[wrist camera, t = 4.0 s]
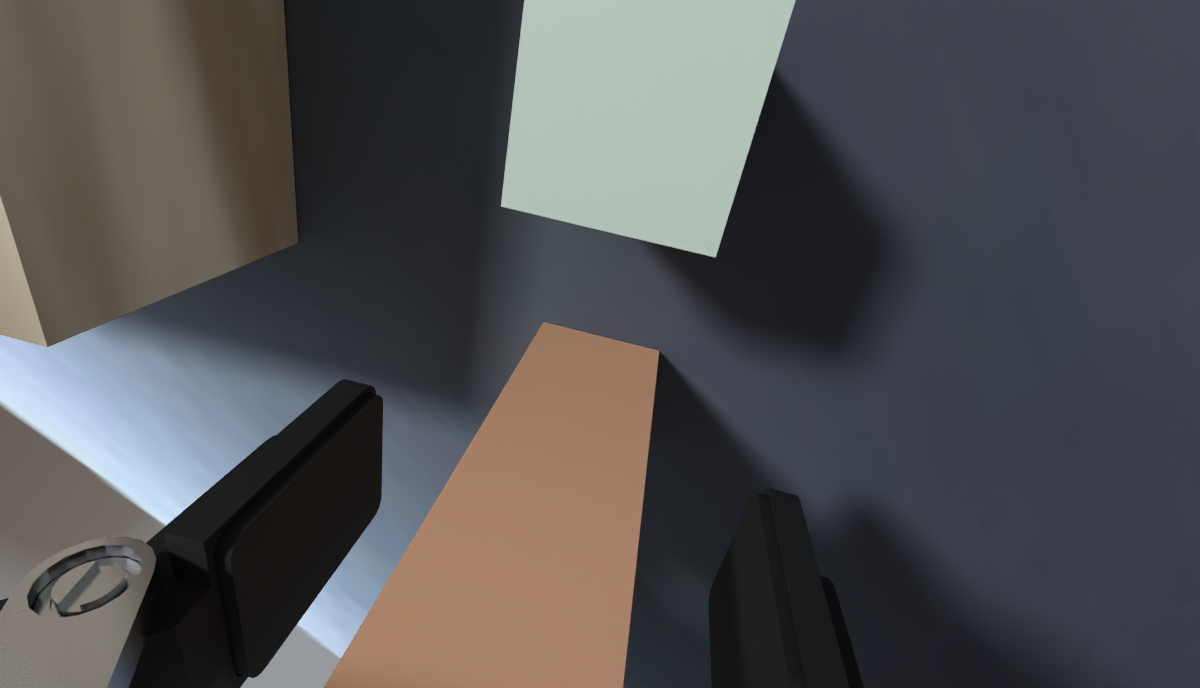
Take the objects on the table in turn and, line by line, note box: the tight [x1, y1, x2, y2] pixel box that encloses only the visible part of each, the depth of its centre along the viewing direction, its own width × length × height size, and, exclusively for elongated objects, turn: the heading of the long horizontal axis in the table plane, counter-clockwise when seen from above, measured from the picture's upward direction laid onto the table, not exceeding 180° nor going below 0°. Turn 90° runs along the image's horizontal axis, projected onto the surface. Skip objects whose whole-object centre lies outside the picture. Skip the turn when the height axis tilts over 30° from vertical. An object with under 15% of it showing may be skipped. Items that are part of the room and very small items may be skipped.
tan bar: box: [324, 322, 659, 688], centre depth 9 cm, size 3×3×12 cm
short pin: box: [501, 0, 795, 258], centre depth 9 cm, size 3×3×5 cm
